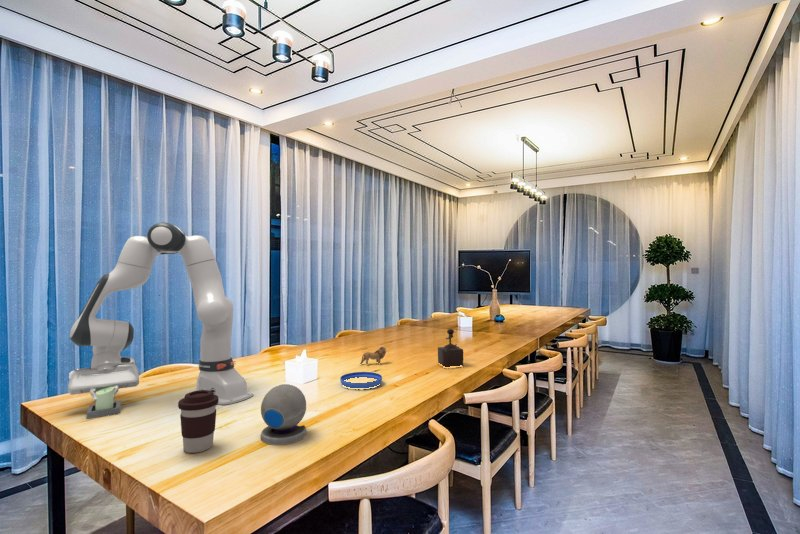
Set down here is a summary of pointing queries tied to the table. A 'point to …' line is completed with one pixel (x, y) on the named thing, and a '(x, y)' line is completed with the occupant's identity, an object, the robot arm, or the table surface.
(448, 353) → the black block with stem
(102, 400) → the candle
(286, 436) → the webcam
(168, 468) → the table surface
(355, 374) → the blue ring
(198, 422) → the coffee cup
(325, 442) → the table surface
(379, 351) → the lion figurine
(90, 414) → the holder collar
